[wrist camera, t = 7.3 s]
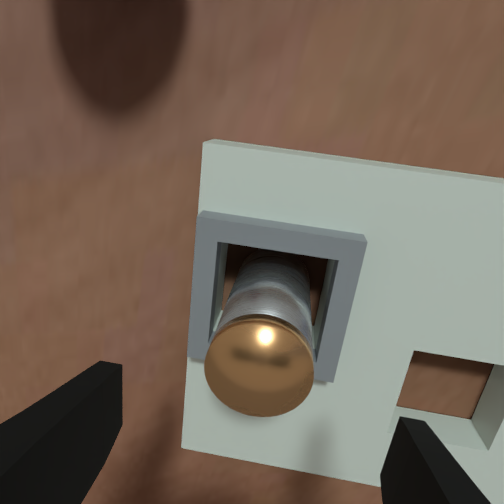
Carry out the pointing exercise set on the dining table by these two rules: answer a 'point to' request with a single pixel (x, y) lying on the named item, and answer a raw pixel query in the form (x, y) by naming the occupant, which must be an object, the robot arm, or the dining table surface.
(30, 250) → the dining table surface
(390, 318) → the board
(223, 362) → the silver and gold cylinder
